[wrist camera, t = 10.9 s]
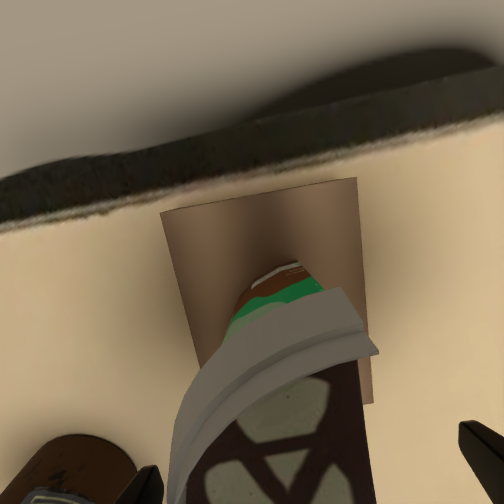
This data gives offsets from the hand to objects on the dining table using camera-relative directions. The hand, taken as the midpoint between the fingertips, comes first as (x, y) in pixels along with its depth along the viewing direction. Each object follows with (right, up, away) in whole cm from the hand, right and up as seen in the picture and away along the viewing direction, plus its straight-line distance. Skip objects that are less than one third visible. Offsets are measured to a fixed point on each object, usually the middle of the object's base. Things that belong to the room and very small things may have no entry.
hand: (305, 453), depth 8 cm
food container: (-1, +1, +9) cm, 9 cm away
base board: (0, +3, +11) cm, 12 cm away
